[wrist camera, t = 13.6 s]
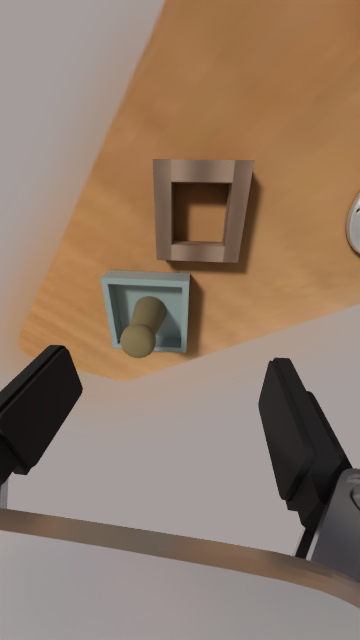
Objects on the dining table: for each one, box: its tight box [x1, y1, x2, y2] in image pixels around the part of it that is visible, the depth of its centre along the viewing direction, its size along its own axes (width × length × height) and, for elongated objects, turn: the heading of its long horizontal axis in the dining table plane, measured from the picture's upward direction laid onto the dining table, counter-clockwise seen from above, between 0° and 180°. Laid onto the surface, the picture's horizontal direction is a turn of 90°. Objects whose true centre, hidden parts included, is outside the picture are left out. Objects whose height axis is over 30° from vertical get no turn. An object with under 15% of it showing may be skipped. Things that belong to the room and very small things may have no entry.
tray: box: [100, 270, 190, 353], centre depth 38 cm, size 14×14×4 cm
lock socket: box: [153, 159, 254, 263], centre depth 29 cm, size 12×12×4 cm
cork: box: [120, 296, 167, 358], centre depth 34 cm, size 6×6×11 cm
